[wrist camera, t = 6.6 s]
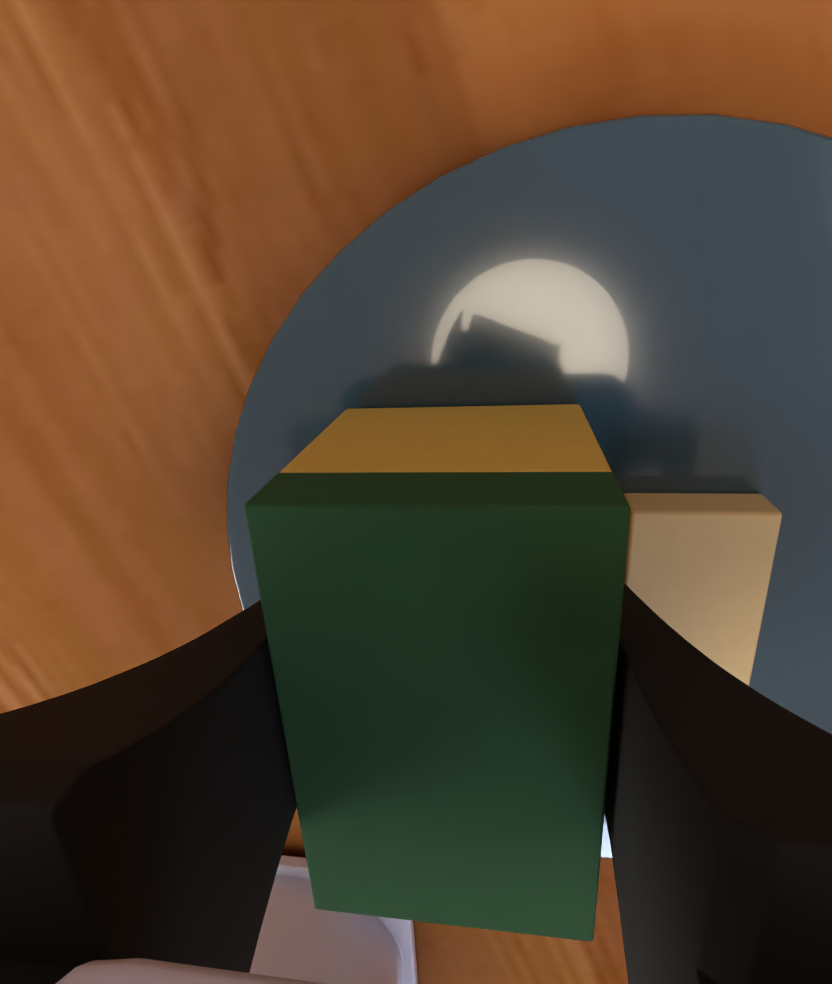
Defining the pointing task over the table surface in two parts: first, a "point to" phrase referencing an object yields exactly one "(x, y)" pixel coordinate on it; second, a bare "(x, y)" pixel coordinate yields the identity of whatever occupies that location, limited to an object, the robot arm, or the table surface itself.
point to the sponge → (448, 660)
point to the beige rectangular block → (705, 568)
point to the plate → (600, 334)
